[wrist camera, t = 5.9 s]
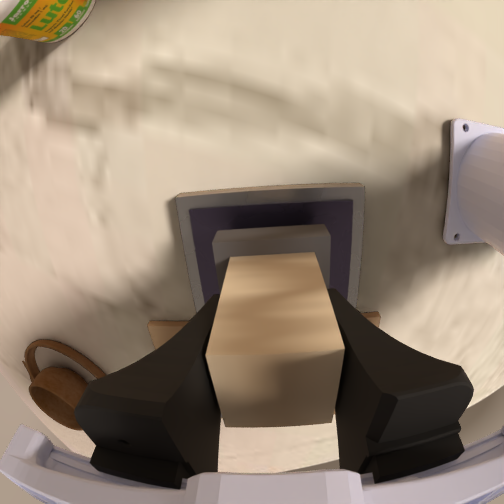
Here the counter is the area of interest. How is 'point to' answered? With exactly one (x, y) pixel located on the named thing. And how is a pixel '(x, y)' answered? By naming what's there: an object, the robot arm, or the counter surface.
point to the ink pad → (273, 215)
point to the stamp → (274, 327)
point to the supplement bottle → (43, 18)
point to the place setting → (58, 383)
